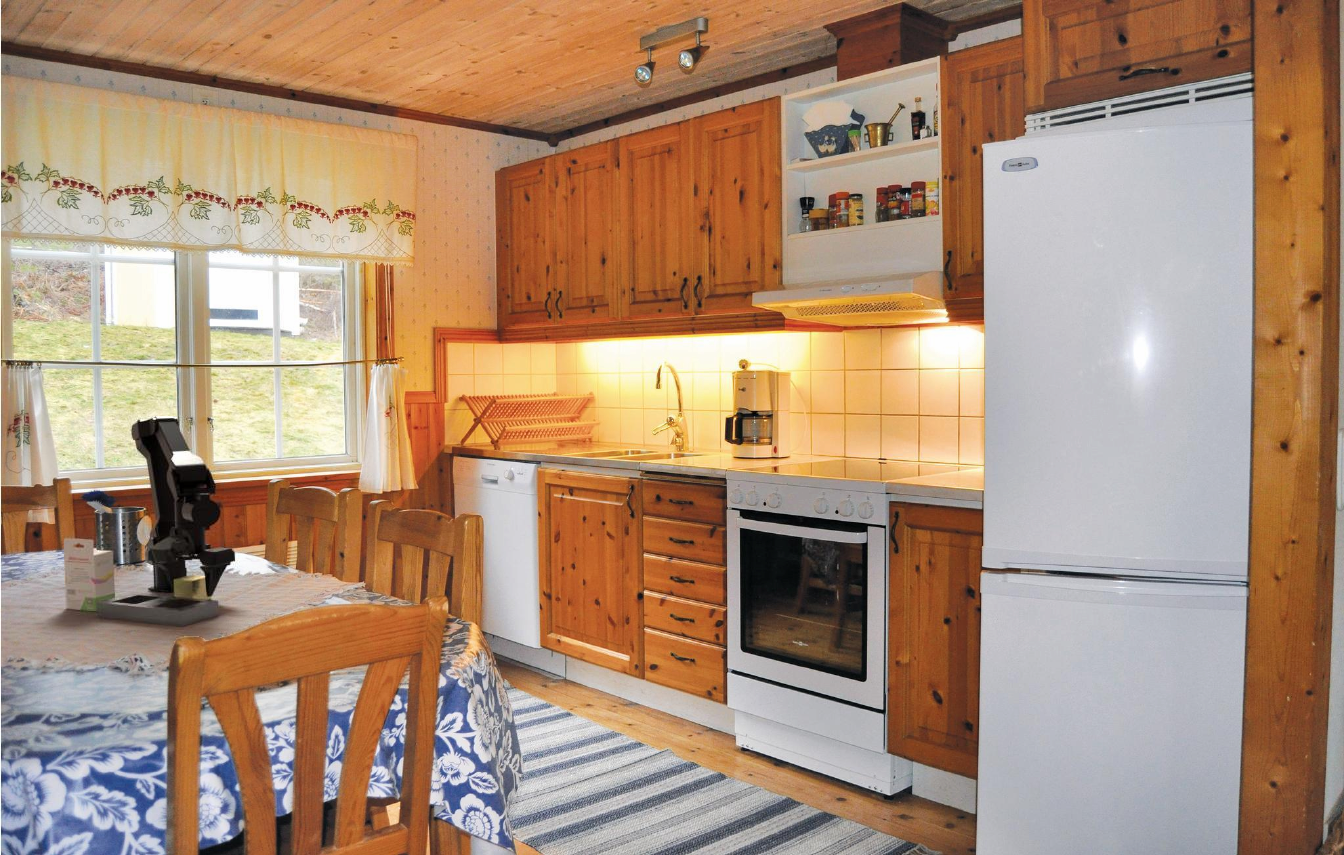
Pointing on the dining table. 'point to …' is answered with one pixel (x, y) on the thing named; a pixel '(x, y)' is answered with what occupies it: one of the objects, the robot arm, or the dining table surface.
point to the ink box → (87, 575)
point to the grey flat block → (158, 609)
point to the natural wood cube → (191, 587)
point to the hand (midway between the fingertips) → (192, 594)
